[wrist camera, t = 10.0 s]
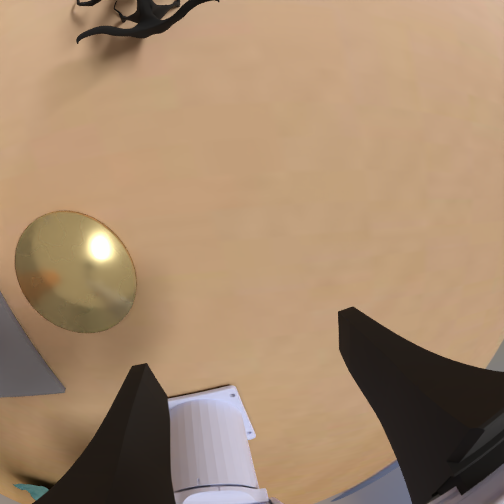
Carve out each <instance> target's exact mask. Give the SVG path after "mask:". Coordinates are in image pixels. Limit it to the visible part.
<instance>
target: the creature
mask: <svg viewBox="0 0 504 504" xmlns="http://www.w3.org/2000/svg"><path fill="white" fill-rule="evenodd" d="M100 1H101V0H91V1H88V2H81V3H80V1H79V0H77V5H79V6H93V5H95V4H96V3H98V2H100ZM207 1H212V0H189V1H187V2H186V3H185V4H184V5H182V7H181V8H180V9H179V10H178V11H177V12H176V13H175V14H174V15H173V16H171V17H170V18H168V19H165V20H161V18H162V17H163V16H164V15H165V14H166V13H167V12H168V10H169V9H170V8H172V7H173V6H177V7H180V0H177V1H174V2H173V4H171V5H156V4H155V3H154V2H153V1H152V0H137V11H136V12H135V13H134V14H132V15H130V16H128V17H126V16H123V15H122V14H121V13H120V12H119V11H118V10H116V9H115V6H114V10H116V11H117V12H118V13H119V15H120V18H121V20H122V22H125V21H126V20H130V21H133V22H135V23H138V24H137V25H136V26H135V27H134V28H131V29H122V28H117V27H112V26H99V27H95V28H93V29H90V30H88V31H85V32H84V33H82V34H80V35H79V36H78V37H77V39H76V42H77V44H78V42H79V41H80V40H81V39H83V38H85V37H88V36H91V35H95V34H108V35H113V36H131V37H136V38H147V37H149V36H151V35H153V34H159V33H162V32H164V31H166V30H168V29H169V28H170V27H171V26H172V25H173V24H174V23H176V22H177V21H179V20H180V19H182V18H183V17H184V16H185V15H186V14H187V13H188V12H189V11H190V10H191V9H193V8H194V7H195V6H197V5H199V4H201V3H204V2H207ZM215 1H218V2H219V0H215ZM116 2H117V1H116ZM116 2H115V5H116Z"/></svg>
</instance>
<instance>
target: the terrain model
mask: <svg viewBox="0 0 504 504" xmlns="http://www.w3.org/2000/svg"><path fill="white" fill-rule="evenodd" d="M13 485H14V484H13ZM14 486H16V487H17V488H19V489H21V490H27V491H28V492H29V493H30V494H31V496H32V497H33V498H34V499H35V500H38V499H39V498H40V497H41V496H42V495H44V494H45V493H46V492H47V491H48V489H47V488H46V487H43V486H35V485H30V484H26V485H25V484H16V485H14Z"/></svg>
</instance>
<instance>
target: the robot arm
mask: <svg viewBox="0 0 504 504" xmlns="http://www.w3.org/2000/svg"><path fill="white" fill-rule="evenodd" d="M338 323H339V350H340V353H341V355H342V357H343V359H344V361H345V364H346V366H347V368H348V370H349V372H350V373H351V375H352V377H353V378H354V380H355V381H356V383H357V385H358V386H359V388H360V389H361V391H362V393H363V394H364V396H365V397H366V399H367V400H368V402H369V404H370V405H371V407H372V408H373V410H374V412H375V413H376V415H377V417H378V418H379V420H380V422H381V424H382V426H383V428H384V431H385V433H386V435H387V437H388V439H389V442H390V444H391V446H392V449H393V451H394V453H395V456H396V458H397V461H398V463H399V466H400V468H401V471H402V473H403V476H404V479H405V482H406V485H407V488H408V491H409V494H410V497H411V501H412V504H504V372H499V371H492V370H487V369H482V368H478V367H474V366H470V365H466V364H463V363H460V362H457V361H453V360H450V359H448V358H445V357H442V356H440V355H437V354H435V353H433V352H430V351H428V350H426V349H424V348H421V347H419V346H417V345H415V344H414V343H412V342H410V341H408V340H406V339H404V338H402V337H401V336H399V335H397V334H396V333H394V332H392V331H391V330H389V329H387V328H386V327H384V326H382V325H381V324H379V323H378V322H376V321H375V320H373V319H371V318H370V317H368V316H367V315H365V314H364V313H362V312H361V311H359V310H358V309H356V308H354V307H350V308H347V309H344V310H341V311H338ZM255 437H256V434H255V432H254V429H253V427H252V425H251V422H250V420H249V418H248V415H247V413H246V411H245V408H244V406H243V403H242V401H241V398H240V396H239V394H238V391H237V389H236V387H235V386H232V385H230V386H225V387H221V388H217V389H212V390H208V391H204V392H199V393H194V394H189V395H184V396H179V397H174V398H169V399H168V397H167V395H166V393H165V392H164V390H163V389H162V387H161V386H160V384H159V382H158V381H157V379H156V378H155V376H154V374H153V373H152V371H151V369H150V368H149V366H148V364H147V363H145V364H140V365H135V366H132V367H131V369H130V371H129V373H128V375H127V377H126V379H125V380H124V382H123V384H122V386H121V388H120V390H119V392H118V394H117V396H116V398H115V400H114V402H113V404H112V406H111V408H110V410H109V412H108V413H107V415H106V417H105V419H104V421H103V422H102V424H101V426H100V427H99V429H98V431H97V433H96V434H95V436H94V437H93V439H92V440H91V442H90V443H89V445H88V446H87V448H86V449H85V450H84V452H83V453H82V454H81V456H80V457H79V458H78V459H77V461H76V462H75V463H74V464H73V465H72V467H71V468H70V469H69V470H68V471H67V473H66V474H65V475H64V476H63V477H62V478H61V479H60V480H59V481H58V482H57V483H56V484H55V485H54V486H53V487H52V488H51V489H50V490H48V491H47V492H46V493H45V494H44V495H42V496H41V497H40V498H39V499H38V500H36V501H35V502H34V503H32V504H283V503H282V502H280V501H279V500H278V499H277V498H274V497H271V498H268V495H267V491H266V489H265V488H262V489H259V486H258V482H257V478H256V474H255V469H254V465H253V461H252V457H251V453H250V448H249V444H248V440H250V439H253V438H255Z"/></svg>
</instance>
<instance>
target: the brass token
mask: <svg viewBox="0 0 504 504" xmlns="http://www.w3.org/2000/svg"><path fill="white" fill-rule="evenodd" d="M15 266H16V273H17V278H18V281H19V284H20V287H21V289H22V291H23V293H24V295H25V296H26V298H27V300H28V301H29V302H30V304H31V305H32V306H33V307H34V308H35V309H36V310H37V312H38V313H40V314H41V315H42V316H43V317H44V318H46V319H47V320H48V321H50V322H52V323H53V324H55V325H57V326H59V327H61V328H64V329H67V330H70V331H74V332H79V333H95V332H101V331H104V330H107V329H109V328H111V327H113V326H115V325H116V324H118V323H119V322H120V321H121V320H122V319H123V318H124V317H125V316H126V315H127V314H128V312H129V310H130V309H131V307H132V304H133V302H134V298H135V293H136V285H137V282H136V273H135V267H134V264H133V261H132V259H131V257H130V254H129V252H128V250H127V249H126V247H125V246H124V244H123V243H122V241H121V240H120V239H119V238H118V236H117V235H116V234H115V233H114V232H113V231H112V230H111V229H109V228H108V227H107V226H106V225H104V224H103V223H101V222H100V221H98V220H96V219H95V218H93V217H90V216H88V215H86V214H82V213H79V212H73V211H56V212H51V213H48V214H45V215H43V216H41V217H39V218H38V219H37V220H35V221H34V222H33V223H31V224H30V225H29V226H28V228H27V229H26V230H25V231H24V233H23V234H22V236H21V238H20V240H19V242H18V246H17V249H16V256H15Z"/></svg>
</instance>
